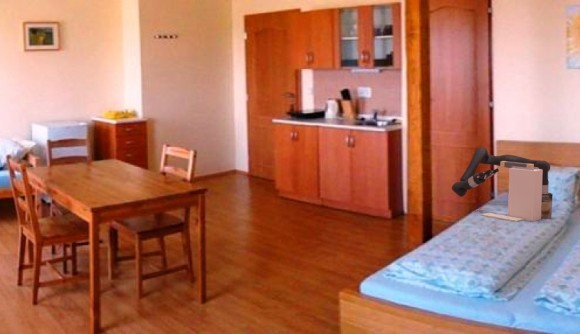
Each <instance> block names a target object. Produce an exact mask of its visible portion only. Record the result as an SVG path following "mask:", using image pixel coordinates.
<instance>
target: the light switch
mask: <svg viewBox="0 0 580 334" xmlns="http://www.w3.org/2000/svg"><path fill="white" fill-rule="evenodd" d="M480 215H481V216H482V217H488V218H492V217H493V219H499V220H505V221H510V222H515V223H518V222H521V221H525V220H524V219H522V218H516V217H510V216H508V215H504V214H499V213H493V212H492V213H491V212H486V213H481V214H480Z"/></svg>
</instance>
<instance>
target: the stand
mask: <svg viewBox="0 0 580 334" xmlns="http://www.w3.org/2000/svg"><path fill="white" fill-rule="evenodd" d="M508 171H509V172H508V198H507V200H508V201H507V216H510V217H516V218H522V219H524V220H523V221H528V222H529V221H530V222H535V221H539V220H542V218H541V201H542V174H543V170H541V169H539V168H537V167H534V168H525V167H515V166H512V168H508Z"/></svg>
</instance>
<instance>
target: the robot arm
mask: <svg viewBox="0 0 580 334" xmlns="http://www.w3.org/2000/svg"><path fill="white" fill-rule="evenodd" d="M501 161H507V162H518V163H528V164H534V167H537V168H539V169H541V170H543V174H542V192H545V193H549V183H550V182H549V181H550V180H549V172H550V170H551V164H550V163H549V162H547V161H546V160H541V159H540V160H539V159H530V158H526V157H522V156H518V155H512V154H503V155H493V154H489V152H488V150H487V148H485V147H483V146H480V147H478V148H476V149H475V151H474V153H473V156H472V158H471V160H470V162H469V164H468V166H467V168H466V169H465V170H464V172H463V174H462V176H461V177H460V178H459V181H457V182H454V183H453V184H452V186H451V190H452V192H453V193H455V194H456V195H457V196H458V197H460V198H461V197H465V195H467V192H468V191H470V190H471V189H474V188H476V187H478V186H479V185H482V184H484V183H485V182H486V179H488V178H491V177H493V176H495V175H496V174H497V173H498V172H499V171H500V170H499V168H495V169H493V170H491V169H488V170H486V171H484V172H477V169H478V167H479V165H480V164H481V165H490V166H492V165H493V166H498V167H500V162H501ZM506 168H507V169H509V168H508V167H506ZM476 172H477V173H476Z"/></svg>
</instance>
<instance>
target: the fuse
mask: <svg viewBox="0 0 580 334" xmlns="http://www.w3.org/2000/svg"><path fill="white" fill-rule="evenodd" d="M512 166H515V167H525V168H534V164H528V163H518V162H507V161H501V162H500V166H499V167H501V168H507V167H508V168H507V169H509V168H512Z"/></svg>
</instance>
